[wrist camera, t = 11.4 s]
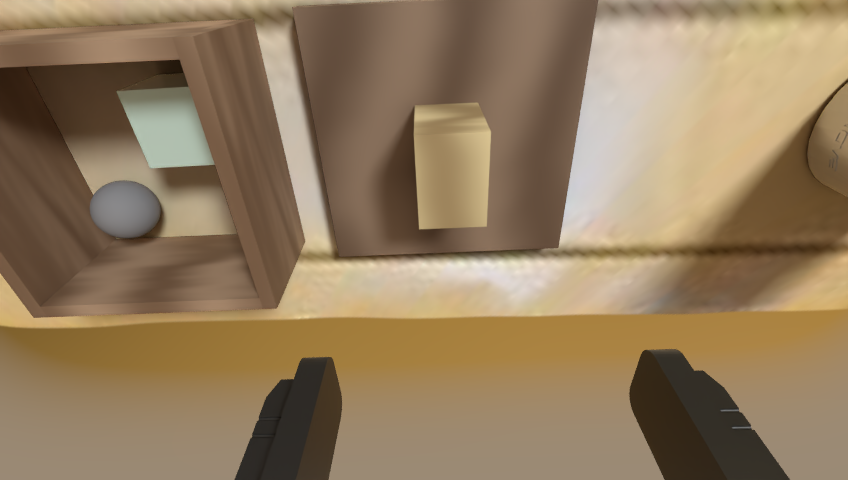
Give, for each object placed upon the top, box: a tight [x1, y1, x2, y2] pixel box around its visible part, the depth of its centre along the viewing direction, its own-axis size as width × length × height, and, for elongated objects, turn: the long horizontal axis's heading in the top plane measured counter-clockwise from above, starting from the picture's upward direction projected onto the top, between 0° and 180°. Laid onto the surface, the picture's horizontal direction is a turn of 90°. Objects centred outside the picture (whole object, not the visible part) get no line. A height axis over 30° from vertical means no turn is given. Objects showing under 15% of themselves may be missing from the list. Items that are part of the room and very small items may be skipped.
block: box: [116, 73, 215, 168], centre depth 23 cm, size 4×4×4 cm
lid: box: [292, 0, 598, 257], centre depth 23 cm, size 15×15×7 cm
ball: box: [90, 181, 161, 238], centre depth 26 cm, size 4×4×4 cm
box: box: [0, 19, 305, 318], centre depth 23 cm, size 14×14×7 cm
